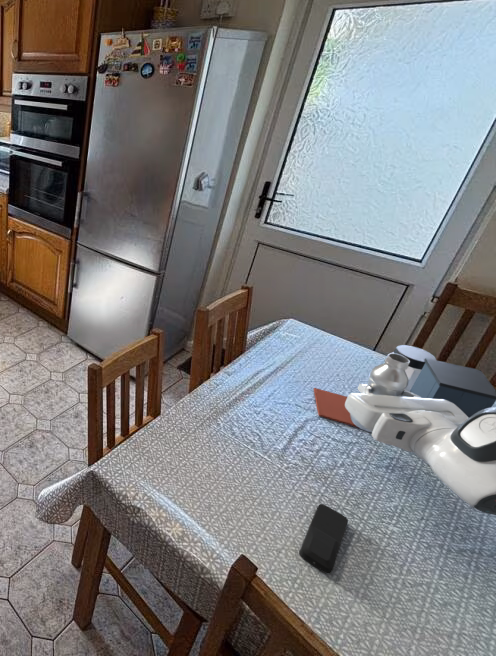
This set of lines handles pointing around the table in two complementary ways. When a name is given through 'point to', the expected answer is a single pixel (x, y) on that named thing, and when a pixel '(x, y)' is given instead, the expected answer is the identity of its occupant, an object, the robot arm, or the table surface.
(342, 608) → the table surface
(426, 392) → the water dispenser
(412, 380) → the jar
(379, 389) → the plastic bottle
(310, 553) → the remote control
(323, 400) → the mat
